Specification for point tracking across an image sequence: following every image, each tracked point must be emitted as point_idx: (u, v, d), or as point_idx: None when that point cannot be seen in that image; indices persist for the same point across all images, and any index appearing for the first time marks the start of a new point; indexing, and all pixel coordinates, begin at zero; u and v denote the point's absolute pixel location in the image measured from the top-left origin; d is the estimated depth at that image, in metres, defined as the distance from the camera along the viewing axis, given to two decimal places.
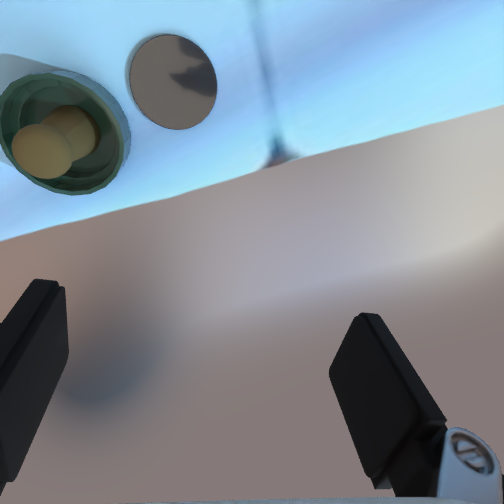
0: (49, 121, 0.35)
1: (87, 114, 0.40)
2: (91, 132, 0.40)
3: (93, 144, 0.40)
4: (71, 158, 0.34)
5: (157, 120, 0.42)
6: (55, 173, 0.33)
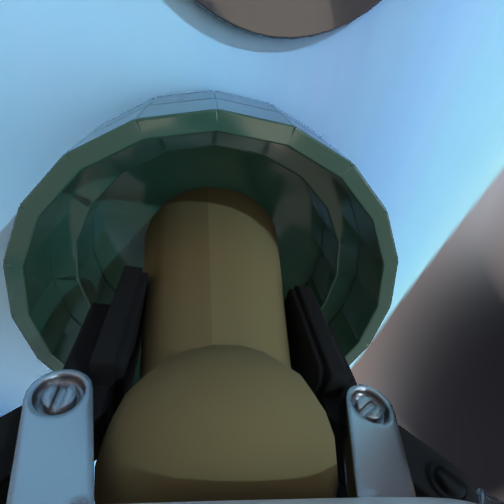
0: (148, 322, 0.10)
1: (197, 194, 0.14)
2: (244, 224, 0.12)
3: (270, 241, 0.13)
4: (313, 410, 0.07)
5: (343, 9, 0.11)
6: None
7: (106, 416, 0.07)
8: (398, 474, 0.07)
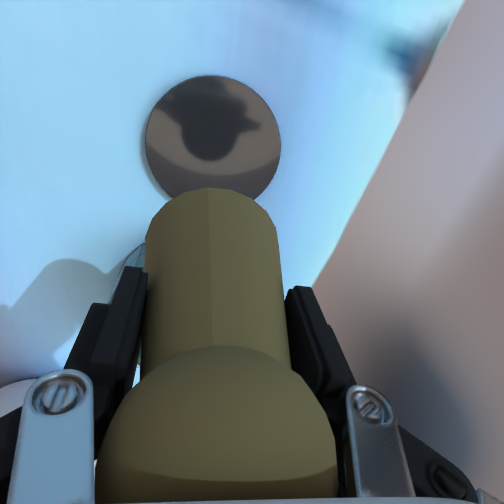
0: (148, 322, 0.10)
1: (198, 194, 0.14)
2: (244, 224, 0.12)
3: (271, 242, 0.13)
4: (313, 411, 0.07)
5: None
6: None
7: (106, 416, 0.07)
8: (398, 474, 0.07)
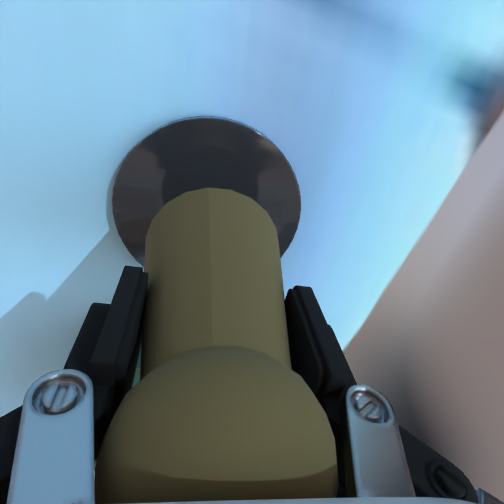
0: (148, 322, 0.10)
1: (198, 194, 0.14)
2: (245, 225, 0.12)
3: (271, 242, 0.13)
4: (314, 411, 0.07)
5: None
6: None
7: (106, 416, 0.07)
8: (398, 474, 0.07)
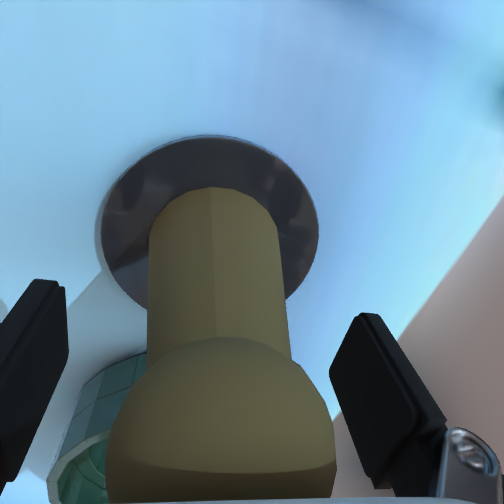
0: (154, 316, 0.10)
1: (201, 194, 0.14)
2: (246, 223, 0.13)
3: (271, 240, 0.14)
4: (313, 398, 0.07)
5: None
6: None
7: None
8: None
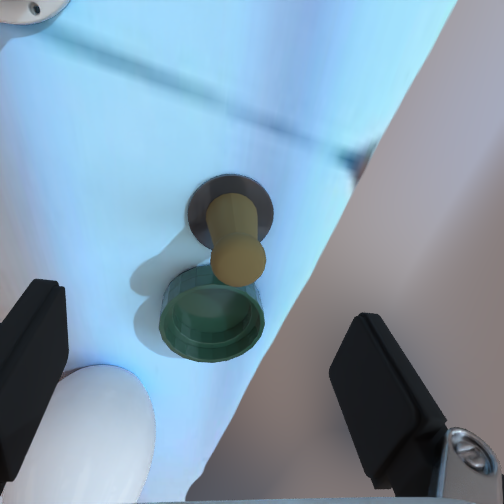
0: (216, 232, 0.34)
1: (227, 195, 0.38)
2: (244, 205, 0.37)
3: (253, 212, 0.37)
4: (259, 244, 0.31)
5: None
6: (262, 267, 0.31)
7: None
8: None
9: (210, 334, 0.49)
